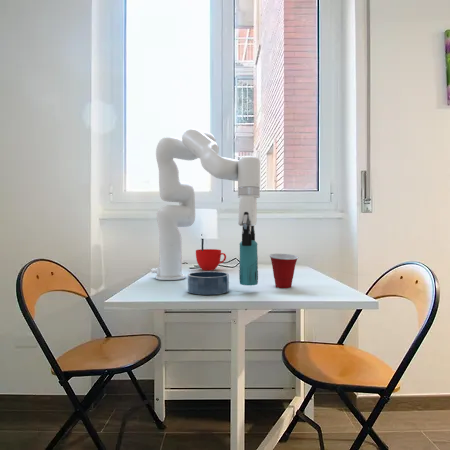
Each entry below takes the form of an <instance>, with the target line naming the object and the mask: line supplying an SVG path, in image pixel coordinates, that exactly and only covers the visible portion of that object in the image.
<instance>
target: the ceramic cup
mask: <svg viewBox="0 0 450 450" xmlns="http://www.w3.org/2000/svg"><path fill="white" fill-rule="evenodd" d="M222 255H223V260H222V261H221V257H222ZM195 259H196V263H197V265H198V266H199V268H200V269H201V271H215V270H216V269H217V268H218V267H219V265H221V264H222V263H225V262H226V260H227V255H226V253H225V252H222V250H221V249H217V248H203V251H202V248H201V249H196V250H195Z"/></svg>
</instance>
